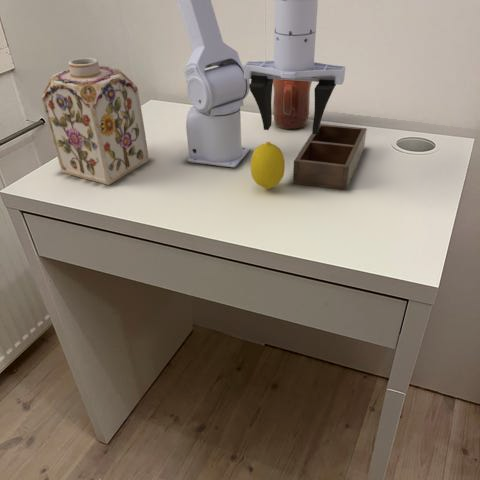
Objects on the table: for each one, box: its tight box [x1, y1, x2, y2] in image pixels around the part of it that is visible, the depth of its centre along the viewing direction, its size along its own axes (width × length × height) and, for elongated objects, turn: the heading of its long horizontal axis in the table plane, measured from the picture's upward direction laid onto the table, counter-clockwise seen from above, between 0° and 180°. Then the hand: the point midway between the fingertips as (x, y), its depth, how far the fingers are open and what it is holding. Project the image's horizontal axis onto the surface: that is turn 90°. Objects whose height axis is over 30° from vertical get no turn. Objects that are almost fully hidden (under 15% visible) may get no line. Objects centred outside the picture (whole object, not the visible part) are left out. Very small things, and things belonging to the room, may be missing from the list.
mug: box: [272, 79, 313, 130], centre depth 101 cm, size 12×9×10 cm
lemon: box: [250, 141, 286, 190], centre depth 81 cm, size 6×6×8 cm
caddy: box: [292, 123, 368, 191], centre depth 89 cm, size 9×17×4 cm, turn 160°
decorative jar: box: [41, 57, 150, 186], centre depth 86 cm, size 12×12×18 cm
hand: (291, 129), depth 78 cm, fingers open, 7 cm apart
